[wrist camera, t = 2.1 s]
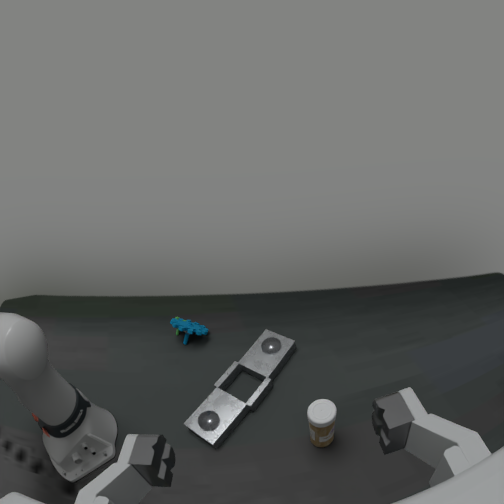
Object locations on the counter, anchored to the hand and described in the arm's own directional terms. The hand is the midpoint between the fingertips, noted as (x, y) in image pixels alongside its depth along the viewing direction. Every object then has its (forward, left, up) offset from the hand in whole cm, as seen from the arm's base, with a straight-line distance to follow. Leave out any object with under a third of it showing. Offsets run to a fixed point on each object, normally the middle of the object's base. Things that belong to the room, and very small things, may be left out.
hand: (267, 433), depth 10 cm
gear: (+22, +48, -47) cm, 71 cm away
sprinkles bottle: (+15, +6, -47) cm, 50 cm away
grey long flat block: (+17, +26, -47) cm, 56 cm away
